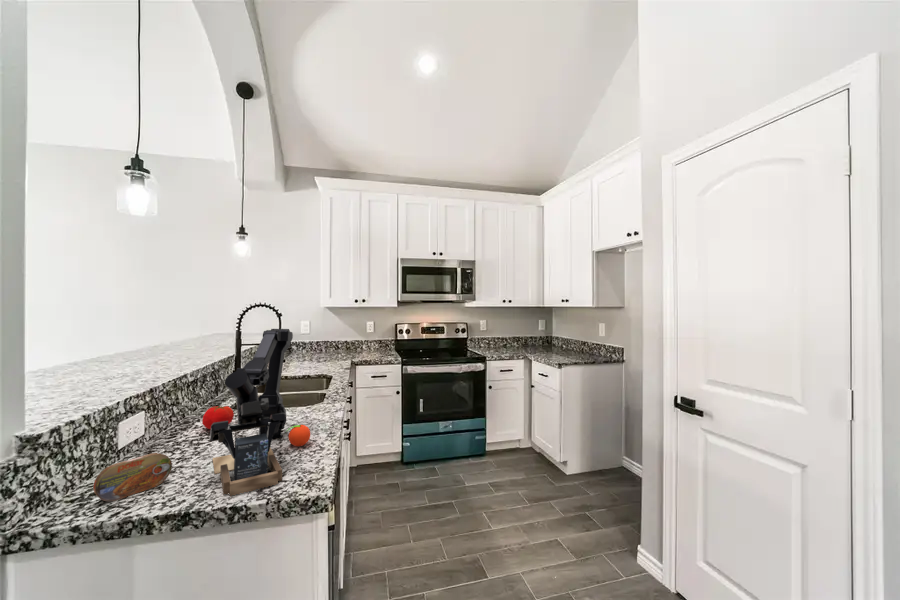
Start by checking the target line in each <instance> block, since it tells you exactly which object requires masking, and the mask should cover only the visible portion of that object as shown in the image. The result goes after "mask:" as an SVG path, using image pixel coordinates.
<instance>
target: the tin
mask: <svg viewBox="0 0 900 600" xmlns="http://www.w3.org/2000/svg"><path fill="white" fill-rule="evenodd" d="M172 468H173V463H172V460H171V458H170V457H169V456H168V455H166V454H163V453H158V452H153V453H148V454H145V455H141V456H138V457H134V458H131V459H128V460H127V459H126V460H124V461H120V462H117V463H114V464H111V465H108V466H107V467H105V468H104V469H103V470H102V471H101V472H100V473H98V475H97V476H96V477H95V479H94V482H93V486H92V487H93V493H94V494H95V495H96V496H97V498H98V499H100V500H101V501H104V502H116V501H119V500H121V499H124V498H128V497H131V496H133V494H134V495H136V494H138V493H142V492H144V491H148V490H151V489H154V488H156V487H158V486H160V485H161V484H163V483H164V482H165V481H166V480H167V479H168V477H169V476H170V474H171V472H172V470H173V469H172ZM127 496H128V497H127Z"/></svg>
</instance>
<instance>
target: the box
mask: <svg viewBox="0 0 900 600" xmlns="http://www.w3.org/2000/svg"><path fill="white" fill-rule="evenodd" d="M234 447H235V459H234V470H233V481H235V480H240V479H244V478H248V477H253V476H257V475H262V474H266V473H268V467H269V466H268V438H267V435H266V434H260V435H259V434H256V435H249V436H243V437H242V436H241V437H236V438H234Z"/></svg>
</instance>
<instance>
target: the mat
mask: <svg viewBox="0 0 900 600" xmlns="http://www.w3.org/2000/svg"><path fill="white" fill-rule="evenodd" d="M273 454H274V451H273V450H272V448H271V447H270V450H269V452H268V456H269V455H273ZM274 455H275V454H274ZM212 464H213V474H214V475H219V474H220V470H221V465H224V464H227V466H228V471H229V472H234V459H233V457H232V455H231V454H227V455H222V456H216V457H212Z"/></svg>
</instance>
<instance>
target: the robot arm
mask: <svg viewBox="0 0 900 600" xmlns="http://www.w3.org/2000/svg"><path fill="white" fill-rule="evenodd" d="M293 337H294V335H293V332H292V331H290V329H289V328H271V329H266V330H264V331H263V333H262V338H261V341H260V343H259V345H258V347H257V349H256V351H255V353H254V355H253V358H252V359H251V360H249V361H248V362H247V363H245V364H244V366H243V367H242V368H241V367H237V368H236V371H234V372H231V373H230V374H229V375H227V377H225V379H224V384H225V387H226V388H227V389H228V390H229V392H230V393H231V395H232V396H233V397H235V398H236V412H237V414H236V415H237V424H236V423H235V424H231V423H230V424H228V421H221V422H215V423H213V424H212V425H211V429H210V432H209V433H210V435H209V436H210V442H218V443H222V444H223V445H224V446H225V448H226V449H227V450H228V452H229V455H232V457H233V459H235V440H234V437H233V433H235V432H241V431H247V430H254V429H258V435H260V434H266V435H267V438H268V452H269V450H270V448H271V445H272V441H273V439H278V438H279V437H280V438H282V437H283V434H282V430H283V429H285V426H286V422H287V409H286V407H285V405H284V403H283V402H284V399H283V397H282V395H281V392H280V387H281V380H282V374H283V365H284V359H285V353H286V351H287V350H288V349H289V348H290V347H291V342H292V341H293ZM264 385H265V387H264V392H263V393H262V394H260V395H259V393H258V388H257V386H259V387H260V386H261V387H262V386H264Z"/></svg>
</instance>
